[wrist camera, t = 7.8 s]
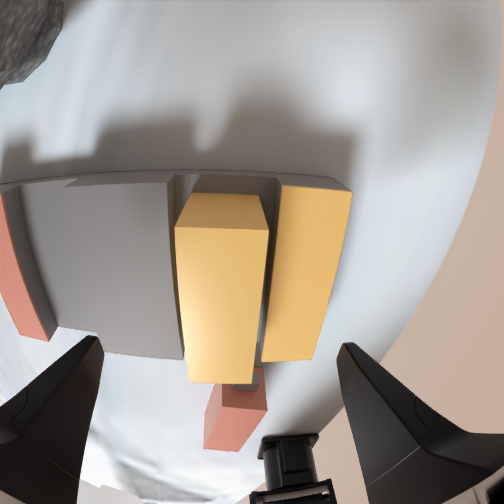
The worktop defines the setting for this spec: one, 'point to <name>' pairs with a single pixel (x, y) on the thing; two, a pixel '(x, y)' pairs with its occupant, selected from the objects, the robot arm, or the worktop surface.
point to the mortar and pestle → (26, 36)
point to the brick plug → (234, 413)
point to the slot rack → (161, 256)
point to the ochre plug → (221, 284)
